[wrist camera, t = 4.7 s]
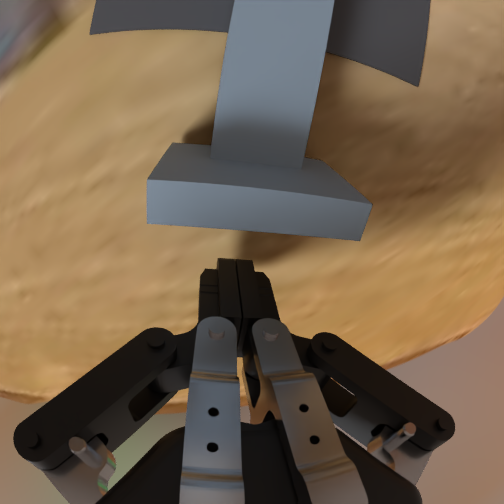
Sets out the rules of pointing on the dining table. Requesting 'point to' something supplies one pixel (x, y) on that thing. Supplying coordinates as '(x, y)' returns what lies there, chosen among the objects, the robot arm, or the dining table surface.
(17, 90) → the dining table surface
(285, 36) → the sled frame
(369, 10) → the mat
